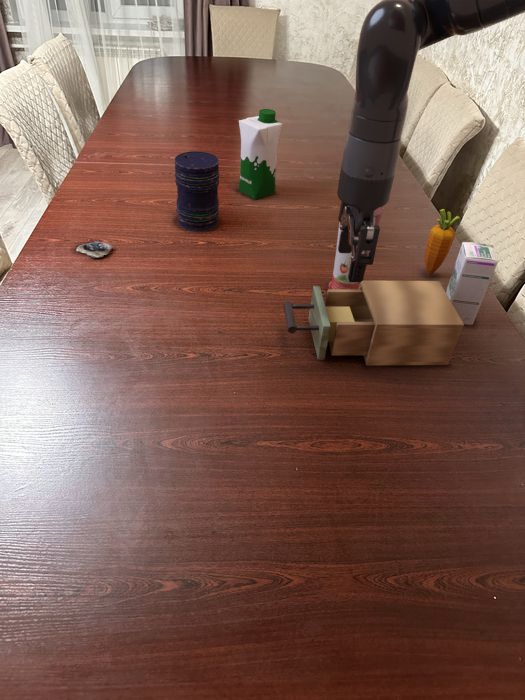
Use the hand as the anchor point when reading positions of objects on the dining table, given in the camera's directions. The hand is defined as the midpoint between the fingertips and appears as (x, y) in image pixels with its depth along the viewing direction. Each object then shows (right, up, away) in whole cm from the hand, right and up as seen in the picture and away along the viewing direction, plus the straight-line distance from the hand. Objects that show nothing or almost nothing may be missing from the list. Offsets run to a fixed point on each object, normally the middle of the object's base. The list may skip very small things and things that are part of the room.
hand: (349, 266), depth 83 cm
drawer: (-1, -11, +10) cm, 15 cm away
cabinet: (+11, -12, +12) cm, 20 cm away
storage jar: (-29, +17, +41) cm, 53 cm away
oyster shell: (-50, +8, +29) cm, 58 cm away
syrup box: (+24, -7, +19) cm, 31 cm away
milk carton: (-15, +28, +55) cm, 64 cm away
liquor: (+3, -2, +22) cm, 23 cm away
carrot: (+22, +3, +29) cm, 37 cm away
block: (-1, -11, +9) cm, 14 cm away
